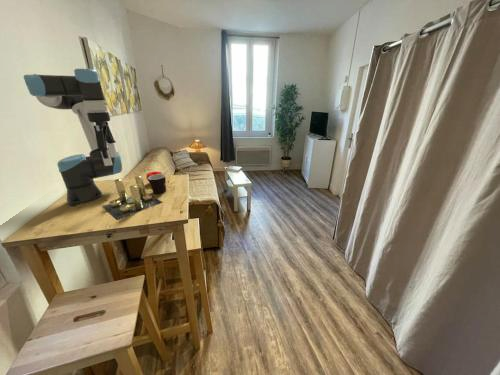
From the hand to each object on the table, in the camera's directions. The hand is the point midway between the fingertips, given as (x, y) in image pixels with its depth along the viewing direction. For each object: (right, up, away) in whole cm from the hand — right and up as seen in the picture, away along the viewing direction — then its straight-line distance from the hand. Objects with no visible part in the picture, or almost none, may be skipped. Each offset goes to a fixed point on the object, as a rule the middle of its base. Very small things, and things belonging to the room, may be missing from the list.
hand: (111, 161), depth 96 cm
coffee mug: (+13, -15, +23) cm, 30 cm away
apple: (+5, -10, +34) cm, 36 cm away
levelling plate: (+5, -21, +8) cm, 23 cm away
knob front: (+8, -22, +3) cm, 24 cm away
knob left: (+9, -17, +14) cm, 24 cm away
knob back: (-2, -20, +9) cm, 22 cm away
